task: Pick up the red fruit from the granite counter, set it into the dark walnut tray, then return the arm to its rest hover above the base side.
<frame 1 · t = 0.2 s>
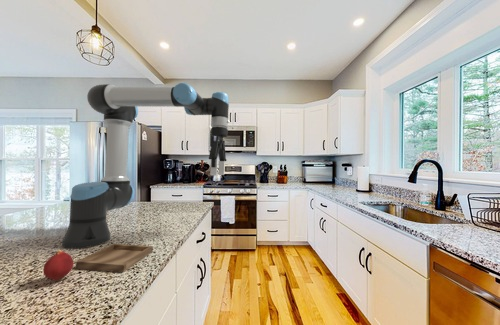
hand: (217, 175, 93), 28 cm above the countertop, tool pointing down, fingers open, 13 cm apart
tray: (117, 259, 68), on the countertop
red fruit: (58, 281, 55), on the countertop
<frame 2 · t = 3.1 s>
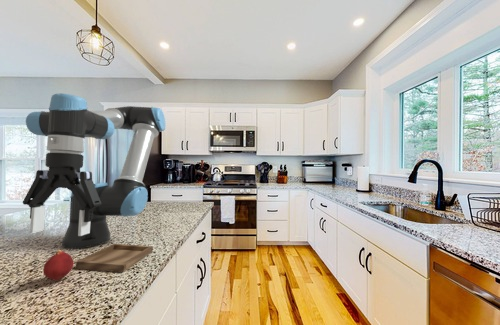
hand: (60, 233, 55), 12 cm above the countertop, tool pointing down, fingers open, 13 cm apart
nothing on the countertop moved.
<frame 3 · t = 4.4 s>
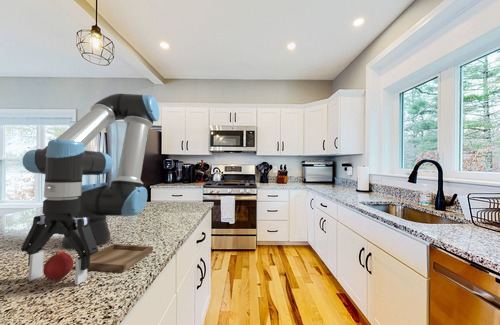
hand: (57, 280, 55), 0 cm above the countertop, tool pointing down, fingers open, 12 cm apart
nothing on the countertop moved.
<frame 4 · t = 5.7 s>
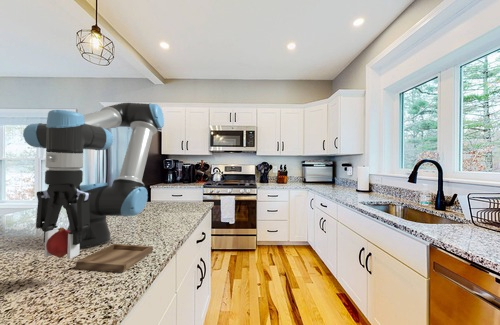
hand: (62, 255, 56), 6 cm above the countertop, tool pointing down, fingers closed on red fruit, 6 cm apart
red fruit: (61, 258, 55), point 6 cm above the countertop, touching gripper
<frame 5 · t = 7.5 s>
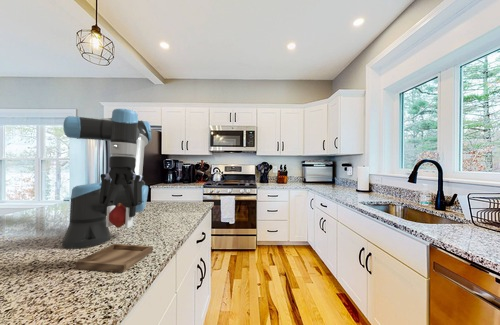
hand: (119, 226, 68), 11 cm above the countertop, tool pointing down, fingers closed on red fruit, 6 cm apart
red fruit: (118, 228, 68), point 10 cm above the countertop, touching gripper
when the fingers open (2 cm above the countertop, at t = 9.3 s): red fruit stays where it is, resting on tray.
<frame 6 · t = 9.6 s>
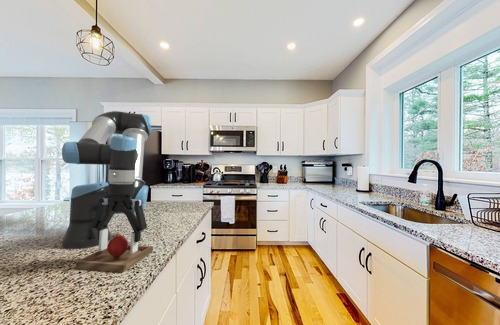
hand: (118, 250, 68), 3 cm above the countertop, tool pointing down, fingers open, 10 cm apart
red fruit: (117, 258, 68), resting on tray
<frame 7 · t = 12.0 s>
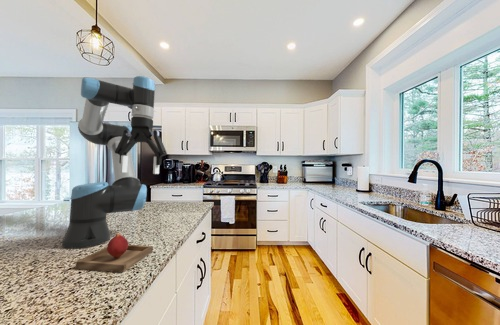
hand: (139, 173, 80), 28 cm above the countertop, tool pointing down, fingers open, 13 cm apart
nothing on the countertop moved.
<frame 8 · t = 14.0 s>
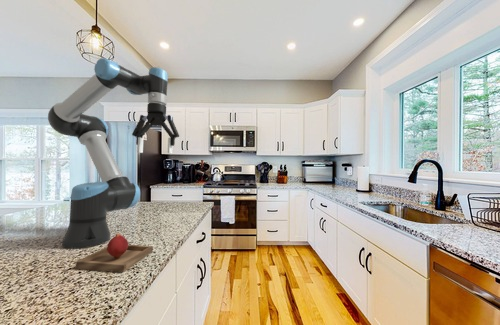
hand: (154, 153, 90), 37 cm above the countertop, tool pointing down, fingers open, 13 cm apart
nothing on the countertop moved.
at the end: red fruit inside the target area on the tray (0.3 cm from its centre), point 0.4 cm above the tray's base; the gripper is holding nothing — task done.
